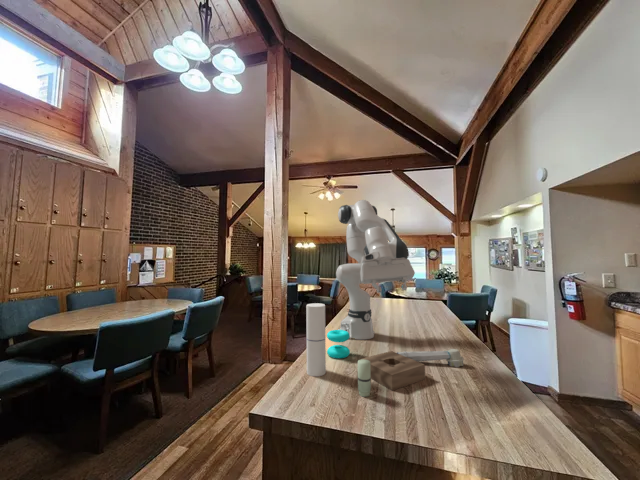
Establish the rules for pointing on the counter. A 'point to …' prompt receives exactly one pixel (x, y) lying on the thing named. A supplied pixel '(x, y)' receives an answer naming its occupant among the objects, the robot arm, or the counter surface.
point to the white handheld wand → (436, 356)
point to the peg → (364, 378)
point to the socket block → (395, 370)
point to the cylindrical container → (315, 339)
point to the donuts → (338, 350)
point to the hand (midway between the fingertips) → (392, 290)
